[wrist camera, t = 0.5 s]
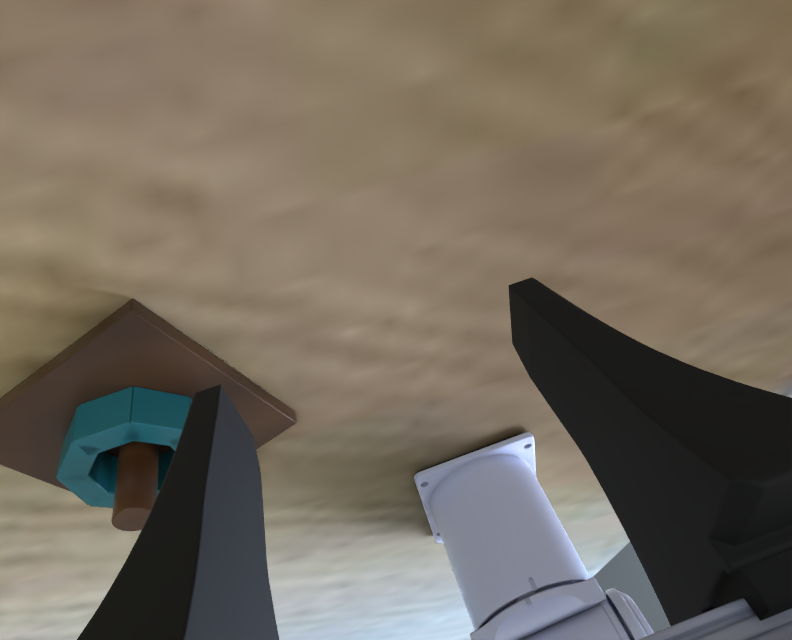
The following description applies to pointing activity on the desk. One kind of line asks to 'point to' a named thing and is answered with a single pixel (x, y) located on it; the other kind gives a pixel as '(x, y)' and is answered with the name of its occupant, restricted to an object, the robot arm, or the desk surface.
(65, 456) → the ring
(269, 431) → the ring toss
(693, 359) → the desk surface
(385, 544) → the desk surface
